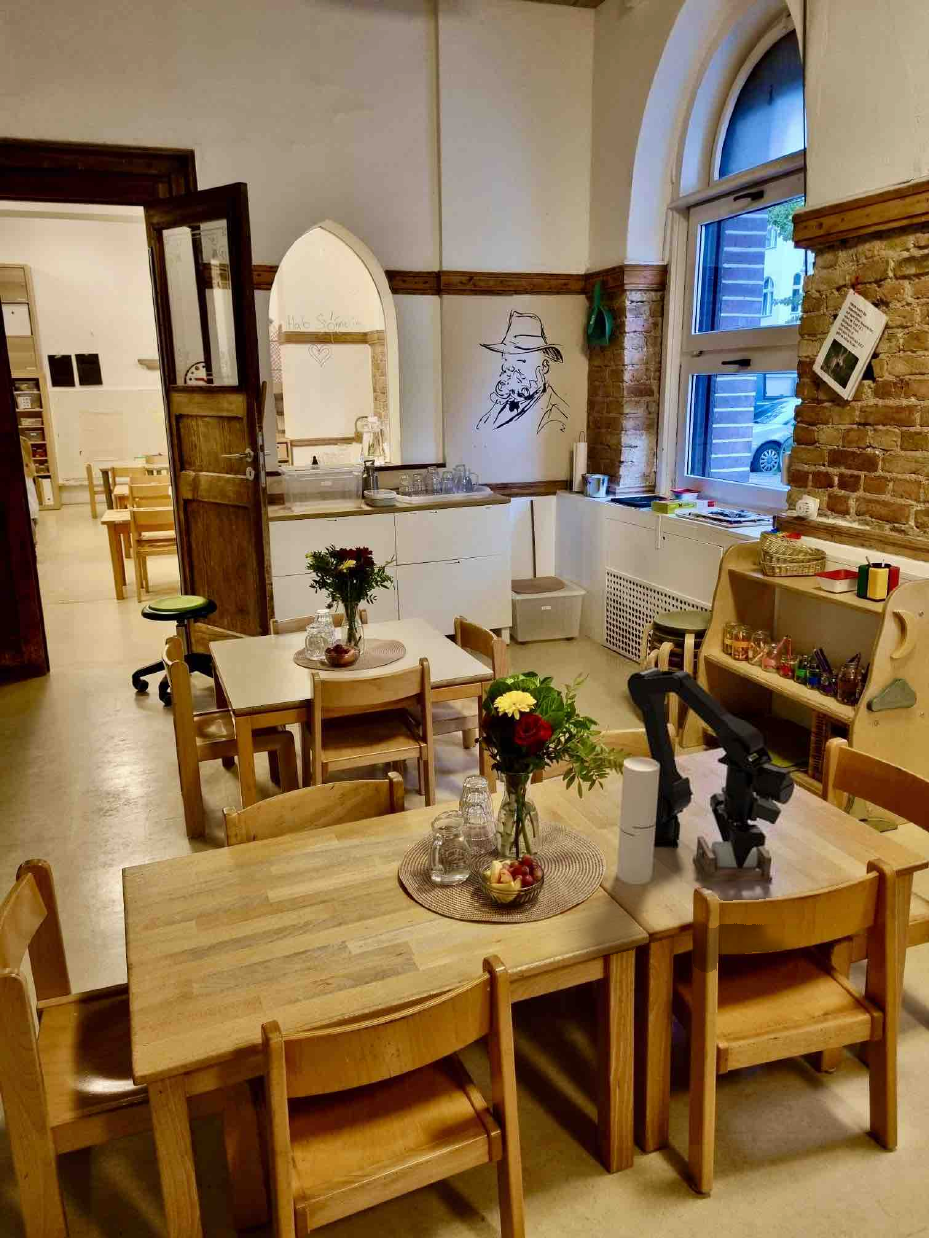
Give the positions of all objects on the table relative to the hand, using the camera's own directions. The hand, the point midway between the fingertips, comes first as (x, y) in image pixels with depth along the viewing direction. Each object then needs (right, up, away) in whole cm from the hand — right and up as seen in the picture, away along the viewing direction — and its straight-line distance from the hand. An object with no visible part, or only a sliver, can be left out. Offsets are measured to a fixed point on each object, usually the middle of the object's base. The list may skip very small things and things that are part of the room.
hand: (732, 855), depth 192 cm
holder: (0, -3, +1) cm, 3 cm away
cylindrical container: (-21, -4, -2) cm, 21 cm away
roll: (0, -2, +1) cm, 2 cm away
